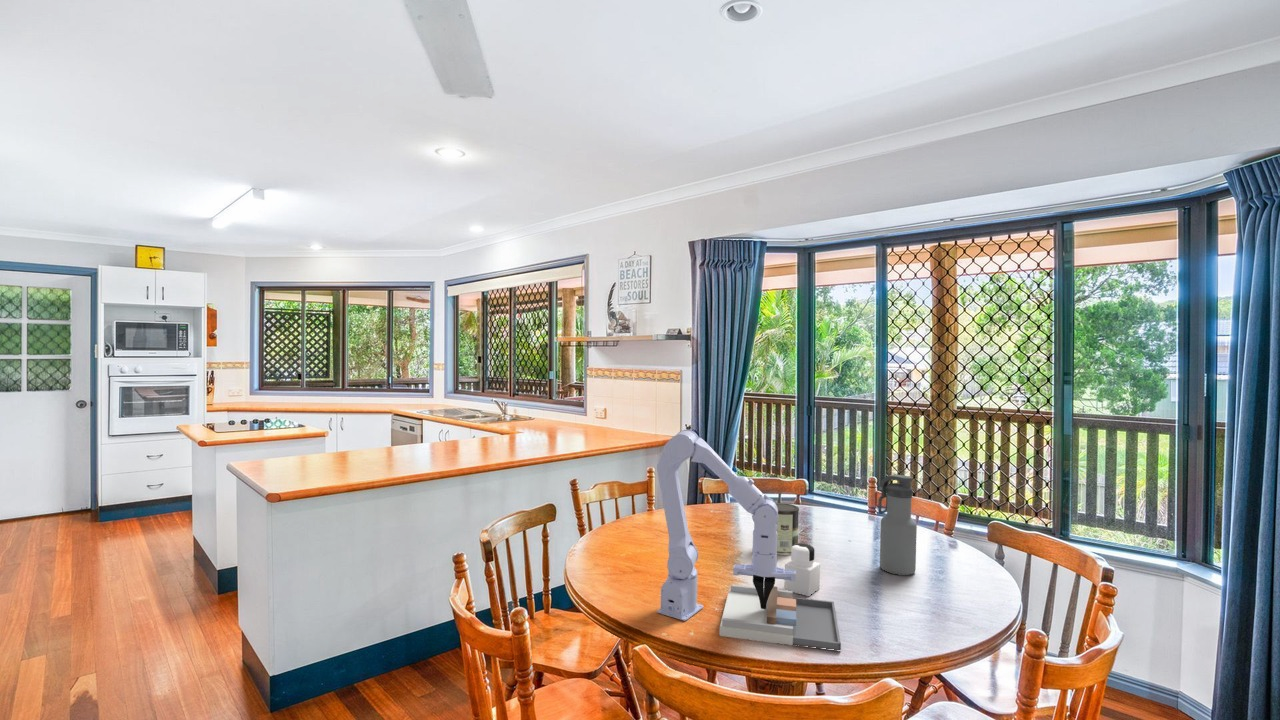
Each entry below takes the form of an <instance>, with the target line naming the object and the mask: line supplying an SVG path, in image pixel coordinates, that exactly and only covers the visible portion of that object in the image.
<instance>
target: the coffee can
mask: <svg viewBox="0 0 1280 720" xmlns="http://www.w3.org/2000/svg"><path fill="white" fill-rule="evenodd" d="M775 504H776V505H777V508H778V521H777V523H776V524H777V530H776V531H777V556H791V547H792V546H793V545H794V544H798V543H799V514H800V513H799V511H800V507H799V506H797V505H795V504H792V503H785V502H775Z"/></svg>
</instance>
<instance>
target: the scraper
mask: <svg viewBox="0 0 1280 720" xmlns="http://www.w3.org/2000/svg"><path fill="white" fill-rule="evenodd" d="M778 588H779V587H778V586H775V585H774V587H773V589H772V590H771V592H770V595H769V598H768V609H767V623H768V624H775V625H776V611H777V593H778V590H779V589H778Z"/></svg>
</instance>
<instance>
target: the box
mask: <svg viewBox="0 0 1280 720" xmlns="http://www.w3.org/2000/svg"><path fill="white" fill-rule="evenodd" d="M793 599H796V626H793V645H797V646H796V647H799V646H808V647H816V648H826V649H834V650H842V649H841V648H842V642H841V638H840V636H841V635H840V631H839V625H838V619H837V614H836V613H837V612H836V607H835V603H834V602H835V601H832V600H831V601H828V600H821V599H813V598H803V597H795V596H793ZM798 645H799V646H798Z"/></svg>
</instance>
